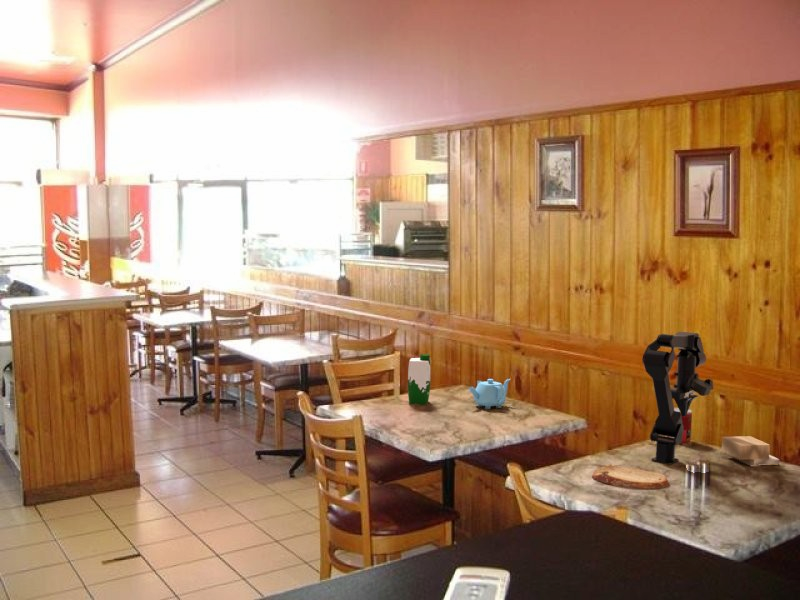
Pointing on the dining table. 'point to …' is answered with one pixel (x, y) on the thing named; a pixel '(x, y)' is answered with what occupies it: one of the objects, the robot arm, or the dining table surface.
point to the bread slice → (629, 477)
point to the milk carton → (419, 379)
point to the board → (759, 460)
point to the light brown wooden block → (745, 447)
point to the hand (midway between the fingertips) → (683, 416)
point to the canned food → (686, 426)
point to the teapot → (490, 393)
